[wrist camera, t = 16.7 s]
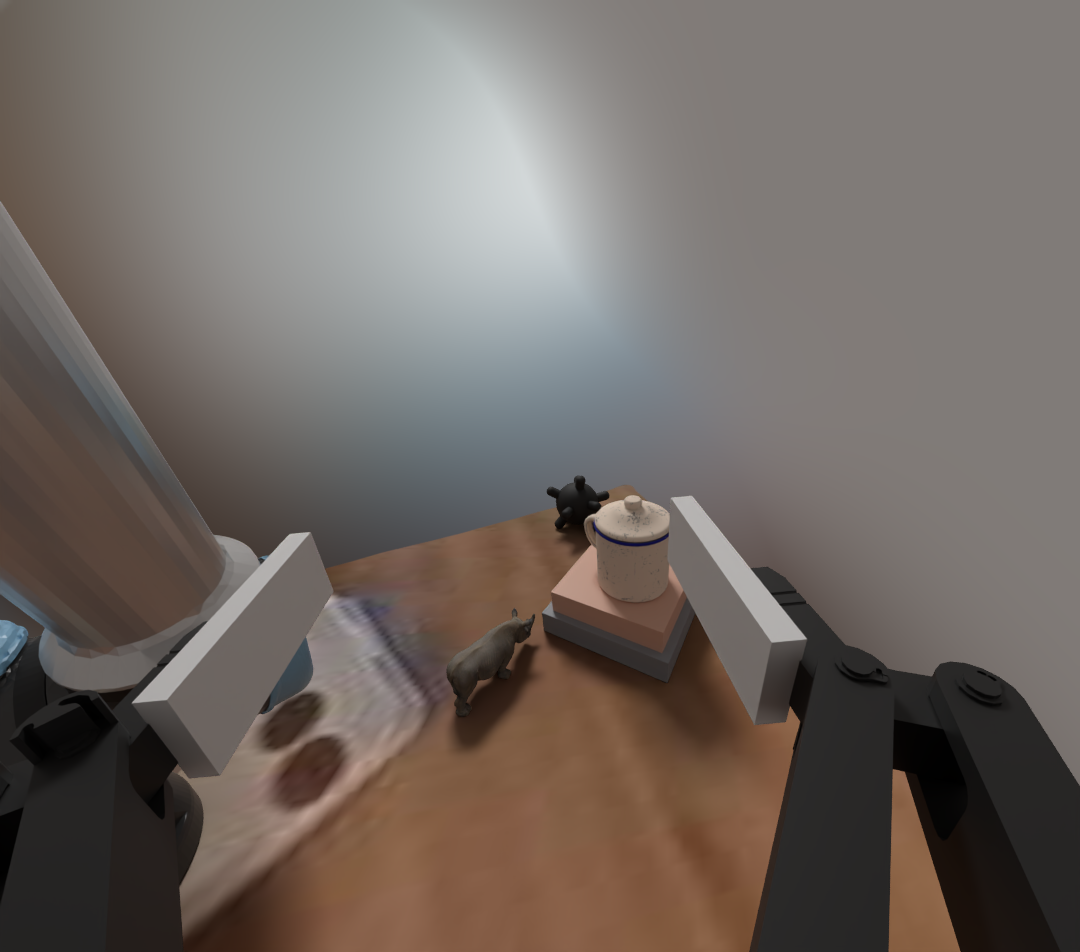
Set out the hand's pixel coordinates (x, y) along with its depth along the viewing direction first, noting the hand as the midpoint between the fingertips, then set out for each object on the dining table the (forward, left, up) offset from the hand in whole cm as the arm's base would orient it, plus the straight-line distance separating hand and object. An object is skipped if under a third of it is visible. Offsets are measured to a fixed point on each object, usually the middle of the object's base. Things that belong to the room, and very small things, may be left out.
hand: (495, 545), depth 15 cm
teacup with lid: (-8, +30, -26) cm, 41 cm away
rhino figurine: (-17, +15, -32) cm, 39 cm away
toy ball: (-23, +46, -32) cm, 61 cm away
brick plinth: (-7, +30, -32) cm, 45 cm away
